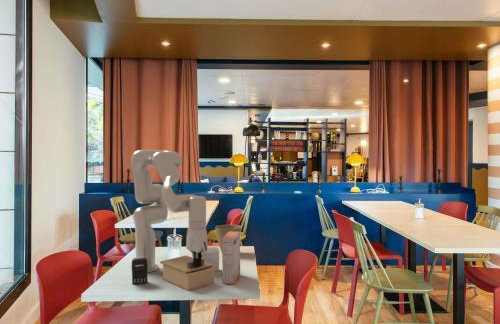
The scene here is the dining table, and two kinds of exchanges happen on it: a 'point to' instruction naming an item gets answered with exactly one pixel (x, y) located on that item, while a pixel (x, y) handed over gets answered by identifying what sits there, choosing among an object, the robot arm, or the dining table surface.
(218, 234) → the plant pot
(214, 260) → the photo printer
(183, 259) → the lid
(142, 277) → the battery charger
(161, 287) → the dining table surface
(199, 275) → the mailer box
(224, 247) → the cracker box
